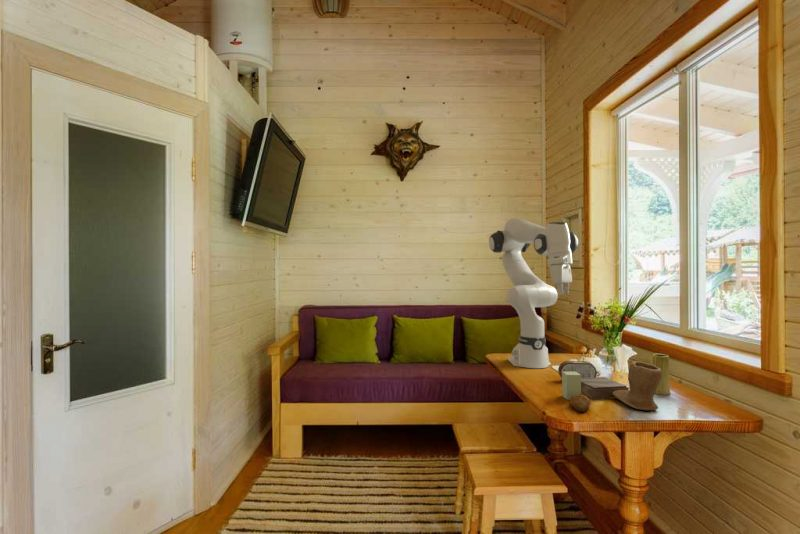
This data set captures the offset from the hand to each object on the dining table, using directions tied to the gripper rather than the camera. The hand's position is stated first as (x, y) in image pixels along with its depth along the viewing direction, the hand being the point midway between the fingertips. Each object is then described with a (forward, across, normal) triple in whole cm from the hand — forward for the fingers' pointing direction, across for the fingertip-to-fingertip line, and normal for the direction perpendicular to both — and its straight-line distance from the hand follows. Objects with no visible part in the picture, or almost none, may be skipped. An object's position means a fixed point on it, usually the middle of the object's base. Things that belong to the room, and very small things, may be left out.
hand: (563, 294), depth 175 cm
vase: (+40, -9, +30) cm, 50 cm away
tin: (+37, -9, 0) cm, 38 cm away
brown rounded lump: (+39, +25, +8) cm, 47 cm away
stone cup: (+40, +12, +24) cm, 48 cm away
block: (+38, +16, +3) cm, 41 cm away
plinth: (+38, +4, +10) cm, 39 cm away
